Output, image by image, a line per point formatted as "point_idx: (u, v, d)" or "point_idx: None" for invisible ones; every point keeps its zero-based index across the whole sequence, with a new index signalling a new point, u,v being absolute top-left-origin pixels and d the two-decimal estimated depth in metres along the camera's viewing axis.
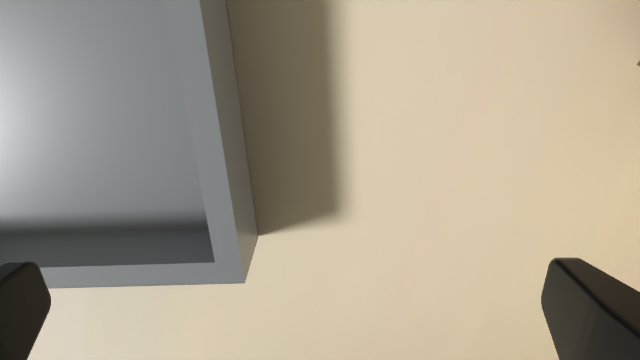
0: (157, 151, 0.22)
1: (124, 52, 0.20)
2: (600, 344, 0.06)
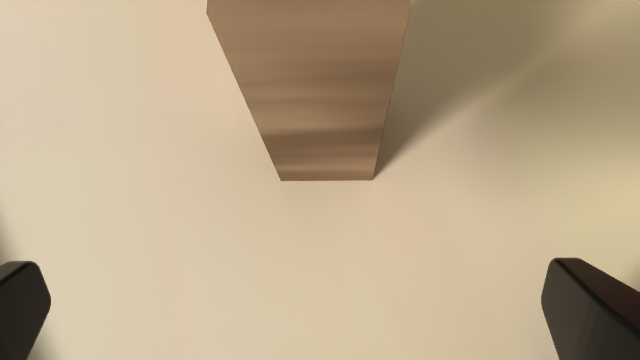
0: None
1: None
2: (600, 344, 0.06)
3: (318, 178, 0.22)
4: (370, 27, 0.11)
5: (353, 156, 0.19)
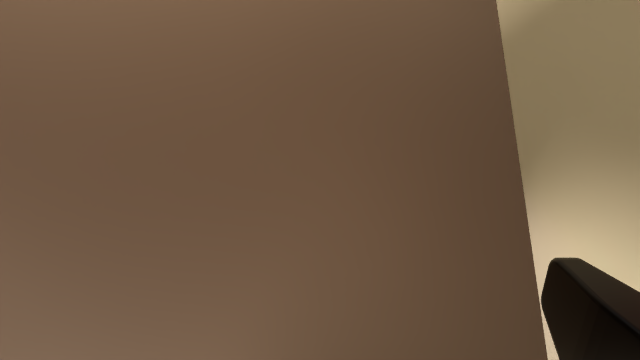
0: None
1: None
2: (600, 344, 0.06)
3: None
4: None
5: None
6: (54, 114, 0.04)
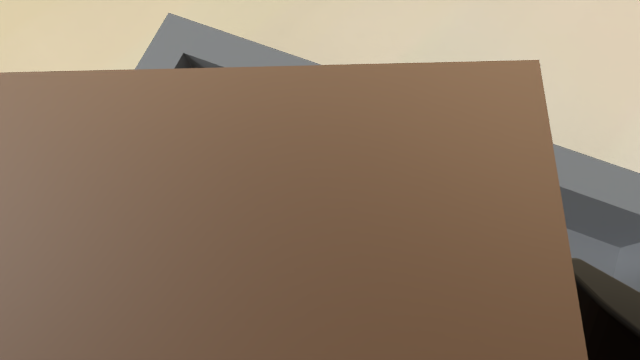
0: None
1: None
2: (600, 344, 0.06)
3: None
4: None
5: None
6: None
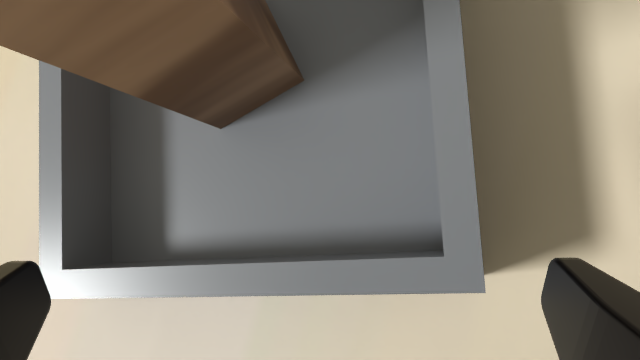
0: (366, 148, 0.19)
1: (348, 43, 0.20)
2: (600, 344, 0.06)
3: (250, 107, 0.20)
4: None
5: (253, 67, 0.17)
6: None
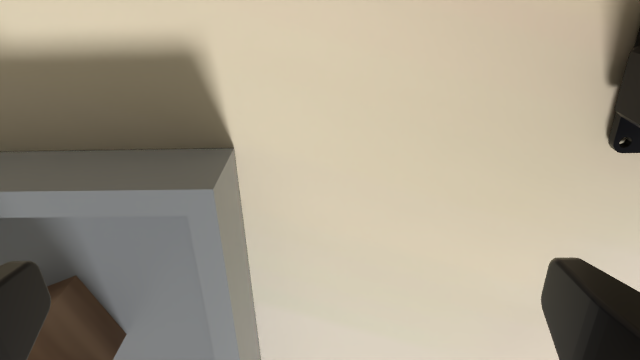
0: (127, 233, 0.22)
1: (38, 242, 0.23)
2: (600, 344, 0.06)
3: (103, 316, 0.24)
4: None
5: (51, 340, 0.21)
6: None
